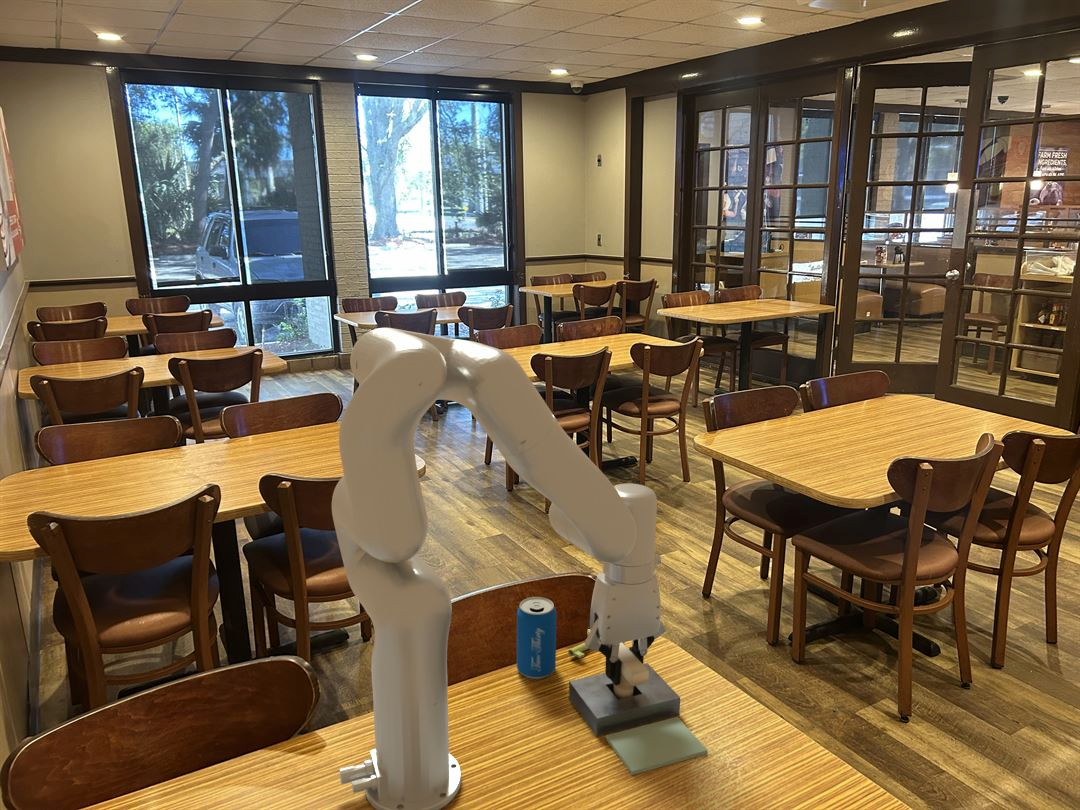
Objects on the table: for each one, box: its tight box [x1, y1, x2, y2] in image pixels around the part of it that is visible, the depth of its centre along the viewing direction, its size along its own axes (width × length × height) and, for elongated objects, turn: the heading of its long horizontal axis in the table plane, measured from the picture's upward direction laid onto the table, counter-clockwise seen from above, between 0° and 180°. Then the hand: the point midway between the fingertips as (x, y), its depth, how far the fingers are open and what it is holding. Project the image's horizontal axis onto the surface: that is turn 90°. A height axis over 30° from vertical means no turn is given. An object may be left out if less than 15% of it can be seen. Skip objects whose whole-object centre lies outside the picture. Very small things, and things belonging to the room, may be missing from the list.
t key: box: [614, 643, 649, 700], centre depth 118 cm, size 10×3×8 cm, turn 22°
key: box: [567, 628, 601, 659], centre depth 135 cm, size 7×12×2 cm, turn 155°
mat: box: [605, 716, 708, 776], centre depth 110 cm, size 12×8×1 cm, turn 112°
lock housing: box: [568, 663, 681, 737], centre depth 119 cm, size 14×10×3 cm
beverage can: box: [516, 596, 557, 680], centre depth 127 cm, size 6×6×12 cm
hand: (623, 676), depth 118 cm, fingers closed on t key, 3 cm apart
